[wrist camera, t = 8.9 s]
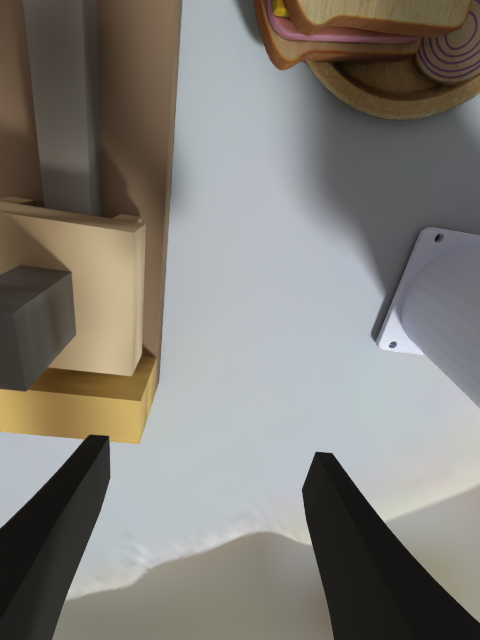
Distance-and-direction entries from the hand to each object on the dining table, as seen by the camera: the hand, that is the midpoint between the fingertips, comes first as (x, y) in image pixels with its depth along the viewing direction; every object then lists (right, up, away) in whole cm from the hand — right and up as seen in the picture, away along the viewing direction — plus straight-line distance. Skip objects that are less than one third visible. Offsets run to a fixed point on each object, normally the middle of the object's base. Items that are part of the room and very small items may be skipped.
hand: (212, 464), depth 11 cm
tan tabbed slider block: (-7, +7, +6) cm, 12 cm away
